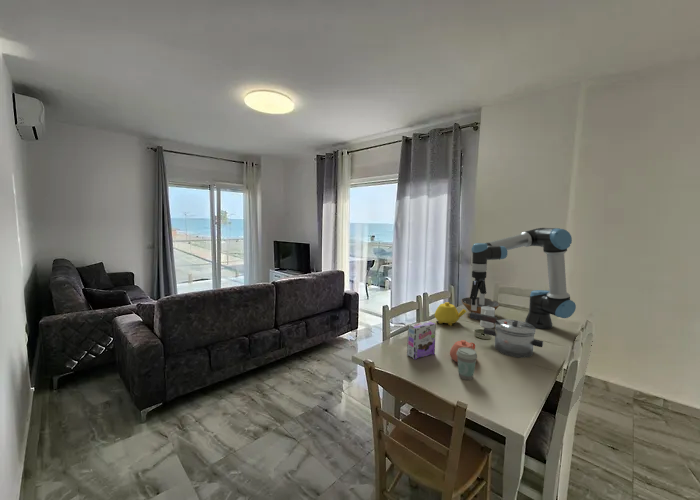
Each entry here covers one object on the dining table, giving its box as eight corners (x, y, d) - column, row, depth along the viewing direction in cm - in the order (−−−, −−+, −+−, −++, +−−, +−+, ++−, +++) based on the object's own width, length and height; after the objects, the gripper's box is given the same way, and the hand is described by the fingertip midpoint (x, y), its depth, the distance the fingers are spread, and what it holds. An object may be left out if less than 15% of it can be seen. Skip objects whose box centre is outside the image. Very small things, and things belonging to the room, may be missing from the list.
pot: (544, 351, 160) (546, 329, 159) (538, 363, 146) (540, 340, 145) (488, 337, 178) (489, 317, 177) (478, 347, 164) (479, 326, 163)
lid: (538, 326, 161) (539, 320, 161) (531, 337, 147) (531, 330, 146) (476, 314, 182) (476, 308, 182) (464, 322, 168) (464, 315, 167)
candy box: (414, 360, 149) (415, 328, 148) (406, 355, 155) (407, 324, 153) (435, 354, 156) (436, 323, 154) (427, 349, 161) (428, 320, 159)
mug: (488, 330, 188) (489, 312, 187) (475, 327, 194) (476, 308, 193) (496, 326, 196) (497, 308, 195) (483, 322, 202) (484, 305, 201)
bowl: (454, 314, 219) (455, 301, 218) (470, 307, 236) (470, 295, 235) (489, 323, 201) (490, 308, 200) (504, 315, 218) (505, 301, 216)
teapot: (467, 322, 203) (468, 302, 201) (463, 329, 190) (464, 308, 188) (438, 317, 213) (438, 298, 212) (431, 323, 200) (432, 303, 199)
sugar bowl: (444, 357, 153) (445, 337, 151) (466, 352, 158) (467, 333, 157) (461, 368, 141) (462, 347, 140) (484, 363, 146) (485, 343, 145)
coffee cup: (452, 372, 138) (453, 347, 137) (470, 371, 139) (471, 346, 137) (460, 382, 129) (461, 355, 128) (479, 381, 130) (481, 355, 129)
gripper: (479, 266, 181) (478, 301, 184) (464, 273, 162) (463, 311, 165) (492, 268, 176) (491, 303, 179) (478, 275, 158) (477, 314, 160)
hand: (477, 307), depth 172 cm, fingers open, 13 cm apart
